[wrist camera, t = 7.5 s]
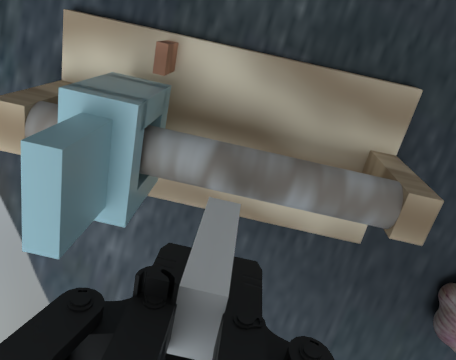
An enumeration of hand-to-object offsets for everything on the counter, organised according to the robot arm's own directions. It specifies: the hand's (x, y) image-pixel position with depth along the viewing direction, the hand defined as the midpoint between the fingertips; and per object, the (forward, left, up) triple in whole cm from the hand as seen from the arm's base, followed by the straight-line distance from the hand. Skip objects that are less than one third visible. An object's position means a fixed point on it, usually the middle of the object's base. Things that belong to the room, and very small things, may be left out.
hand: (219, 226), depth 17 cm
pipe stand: (+1, +1, -14) cm, 14 cm away
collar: (+1, +7, -9) cm, 12 cm away
